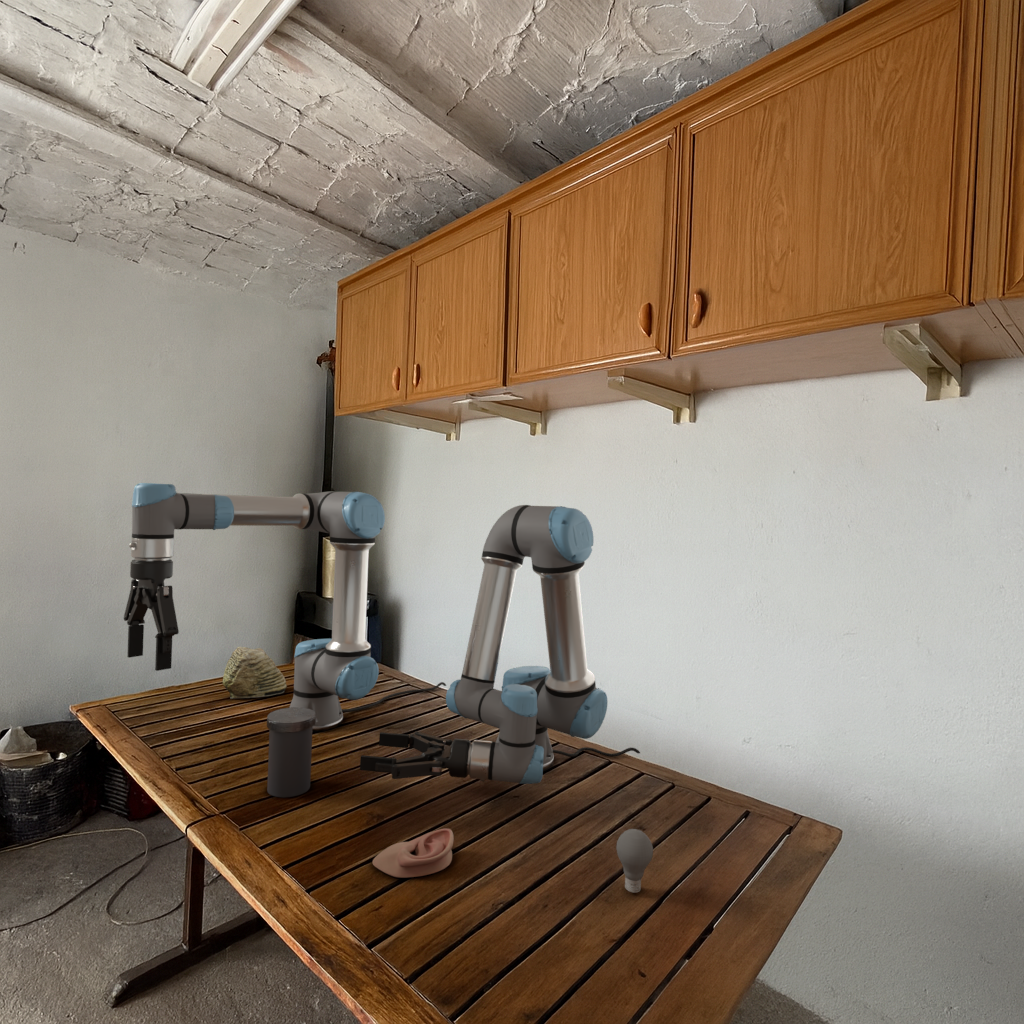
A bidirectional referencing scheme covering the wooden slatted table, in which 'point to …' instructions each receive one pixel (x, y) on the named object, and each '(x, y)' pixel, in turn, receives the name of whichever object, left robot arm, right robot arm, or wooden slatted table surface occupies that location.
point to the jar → (289, 763)
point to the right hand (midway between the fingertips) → (370, 750)
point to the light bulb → (634, 857)
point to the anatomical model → (417, 855)
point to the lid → (291, 719)
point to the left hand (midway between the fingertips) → (148, 662)
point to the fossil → (252, 674)
